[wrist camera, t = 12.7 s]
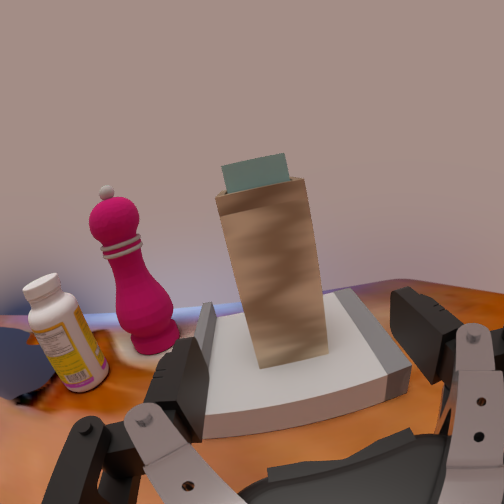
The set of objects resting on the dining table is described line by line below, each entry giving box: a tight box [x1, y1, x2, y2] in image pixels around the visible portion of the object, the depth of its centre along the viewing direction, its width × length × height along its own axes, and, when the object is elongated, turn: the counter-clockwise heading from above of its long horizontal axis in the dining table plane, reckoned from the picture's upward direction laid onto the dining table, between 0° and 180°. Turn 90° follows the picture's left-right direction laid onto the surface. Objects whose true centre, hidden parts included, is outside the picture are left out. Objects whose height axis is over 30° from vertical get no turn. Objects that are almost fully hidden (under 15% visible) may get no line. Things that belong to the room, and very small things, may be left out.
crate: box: [215, 177, 329, 369], centre depth 21 cm, size 6×6×13 cm
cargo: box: [221, 153, 290, 194], centre depth 19 cm, size 4×4×3 cm
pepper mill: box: [89, 185, 180, 355], centre depth 30 cm, size 7×7×20 cm
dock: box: [194, 288, 412, 439], centre depth 23 cm, size 16×14×5 cm
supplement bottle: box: [23, 273, 109, 392], centre depth 25 cm, size 7×7×13 cm
